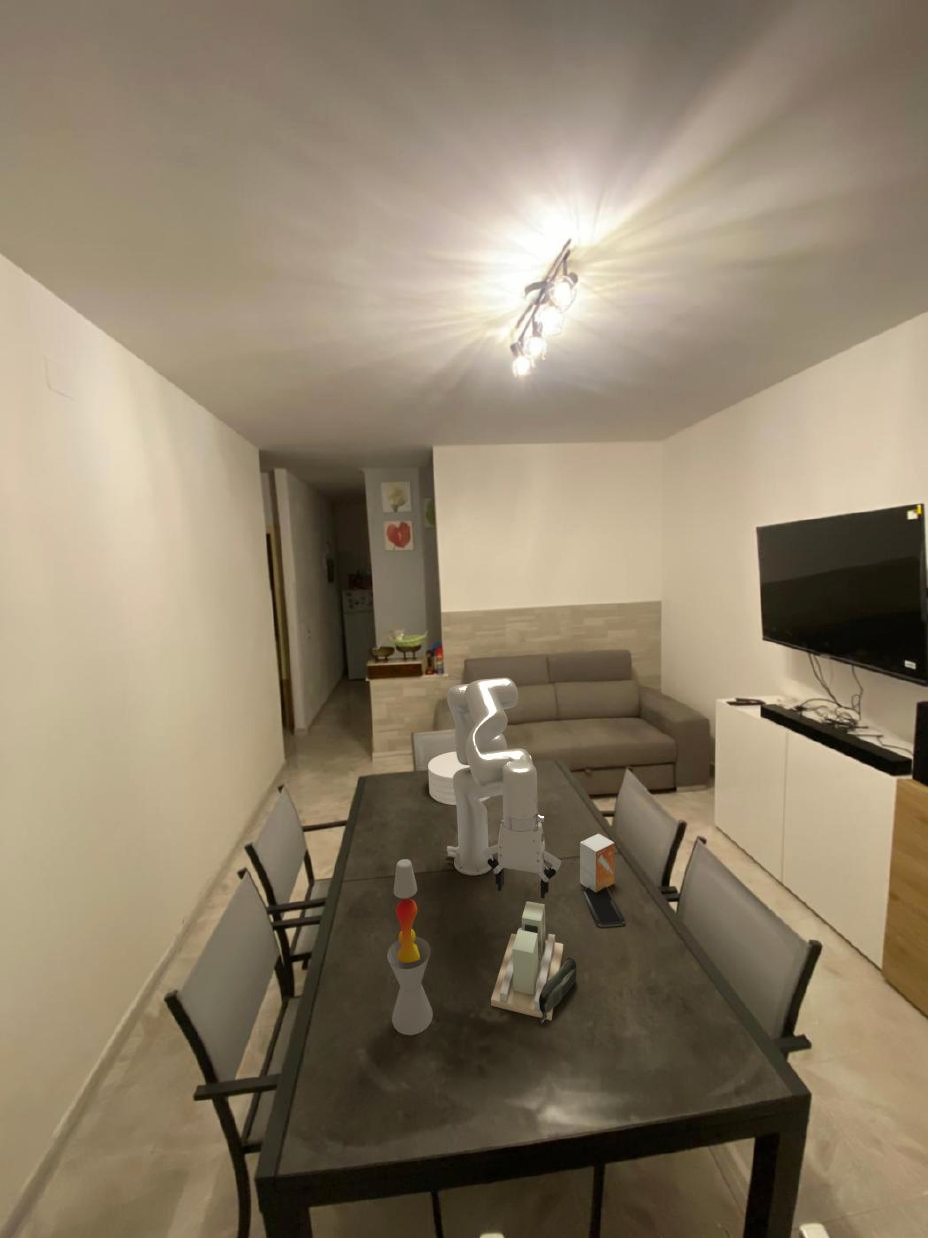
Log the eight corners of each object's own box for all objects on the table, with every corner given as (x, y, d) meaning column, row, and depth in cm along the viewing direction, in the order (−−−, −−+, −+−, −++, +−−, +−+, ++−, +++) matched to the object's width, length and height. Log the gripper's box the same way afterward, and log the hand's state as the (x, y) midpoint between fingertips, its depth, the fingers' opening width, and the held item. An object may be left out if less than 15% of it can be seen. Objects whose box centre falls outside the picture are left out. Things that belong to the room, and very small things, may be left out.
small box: (596, 894, 143) (595, 852, 142) (579, 883, 149) (579, 842, 147) (615, 884, 148) (615, 842, 146) (598, 873, 153) (598, 832, 152)
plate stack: (428, 778, 225) (426, 753, 224) (489, 773, 228) (489, 748, 227) (430, 808, 197) (429, 780, 196) (501, 802, 200) (500, 774, 199)
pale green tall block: (513, 990, 111) (512, 949, 110) (519, 967, 117) (518, 928, 116) (533, 995, 110) (532, 953, 108) (538, 972, 116) (538, 932, 114)
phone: (597, 925, 130) (580, 888, 145) (597, 929, 131) (580, 891, 145) (627, 923, 131) (607, 886, 146) (627, 927, 131) (607, 889, 146)
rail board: (551, 1020, 105) (550, 970, 104) (491, 1005, 109) (489, 957, 108) (563, 949, 124) (562, 906, 123) (511, 939, 128) (510, 897, 127)
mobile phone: (567, 953, 116) (533, 997, 105) (579, 960, 114) (545, 1005, 103) (566, 973, 117) (532, 1018, 105) (578, 980, 115) (544, 1027, 103)
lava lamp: (438, 1028, 104) (430, 870, 100) (394, 1041, 102) (384, 880, 98) (428, 993, 113) (421, 846, 109) (388, 1004, 110) (379, 855, 106)
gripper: (562, 815, 111) (563, 887, 113) (486, 805, 116) (489, 874, 119) (557, 833, 104) (558, 909, 106) (477, 822, 109) (480, 895, 111)
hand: (522, 890), depth 112 cm, fingers open, 9 cm apart
